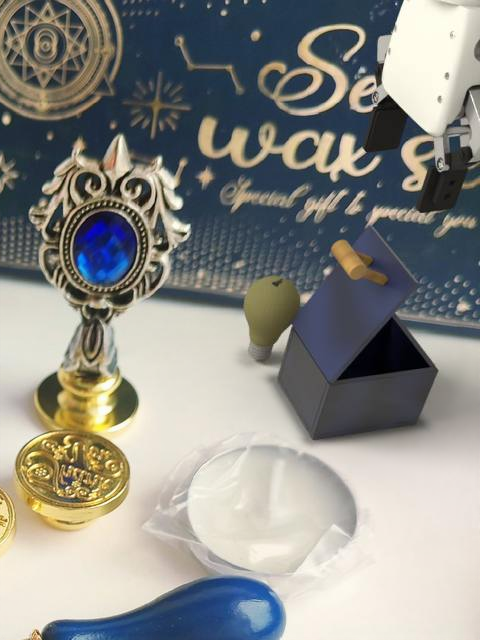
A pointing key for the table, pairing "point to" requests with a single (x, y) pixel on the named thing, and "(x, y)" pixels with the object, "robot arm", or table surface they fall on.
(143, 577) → the table surface
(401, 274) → the lid
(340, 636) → the table surface
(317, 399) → the box
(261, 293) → the light bulb
